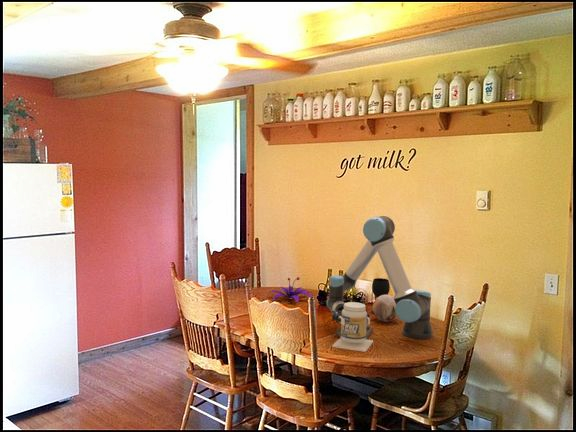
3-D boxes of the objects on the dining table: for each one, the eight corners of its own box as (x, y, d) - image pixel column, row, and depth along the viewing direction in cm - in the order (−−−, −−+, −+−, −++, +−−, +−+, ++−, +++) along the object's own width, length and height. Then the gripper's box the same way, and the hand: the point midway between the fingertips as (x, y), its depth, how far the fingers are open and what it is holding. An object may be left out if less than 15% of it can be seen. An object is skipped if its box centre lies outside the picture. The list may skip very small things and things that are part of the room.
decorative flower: (305, 307, 319) (306, 283, 318) (259, 301, 330) (260, 278, 329) (319, 297, 345) (320, 275, 344) (276, 292, 356) (276, 271, 355)
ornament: (397, 326, 282) (398, 299, 281) (370, 323, 287) (371, 296, 286) (401, 319, 296) (402, 293, 295) (374, 316, 301) (375, 291, 300)
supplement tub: (338, 341, 245) (339, 306, 244) (342, 334, 257) (343, 300, 255) (364, 344, 242) (365, 308, 240) (367, 336, 253) (368, 302, 252)
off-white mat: (373, 342, 254) (373, 340, 254) (365, 351, 239) (365, 350, 239) (341, 337, 260) (341, 336, 260) (332, 347, 245) (332, 345, 245)
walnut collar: (373, 331, 271) (373, 326, 271) (365, 340, 256) (365, 335, 256) (343, 327, 277) (343, 323, 277) (334, 335, 262) (334, 331, 262)
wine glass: (367, 312, 310) (368, 279, 309) (378, 309, 317) (379, 277, 316) (381, 315, 302) (382, 282, 301) (392, 313, 309) (393, 280, 308)
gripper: (363, 316, 269) (380, 328, 248) (318, 318, 264) (331, 330, 242) (364, 302, 268) (380, 313, 247) (319, 303, 263) (332, 315, 242)
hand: (356, 322), depth 245 cm, fingers closed on supplement tub, 12 cm apart
